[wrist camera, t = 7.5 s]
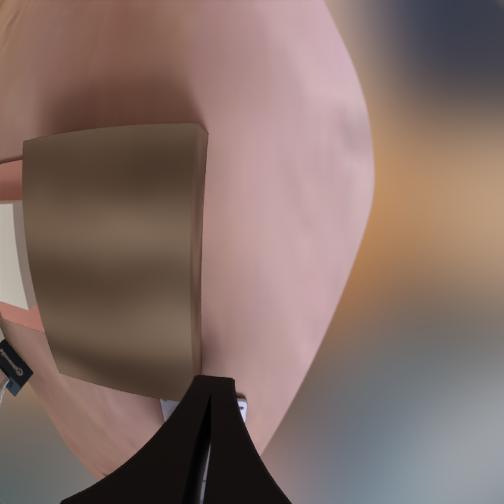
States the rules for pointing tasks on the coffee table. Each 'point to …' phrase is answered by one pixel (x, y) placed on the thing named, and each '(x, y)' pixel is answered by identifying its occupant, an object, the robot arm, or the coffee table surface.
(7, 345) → the watch
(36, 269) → the brown wooden block
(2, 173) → the mat
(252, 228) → the coffee table surface
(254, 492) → the robot arm
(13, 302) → the tile
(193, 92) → the coffee table surface
